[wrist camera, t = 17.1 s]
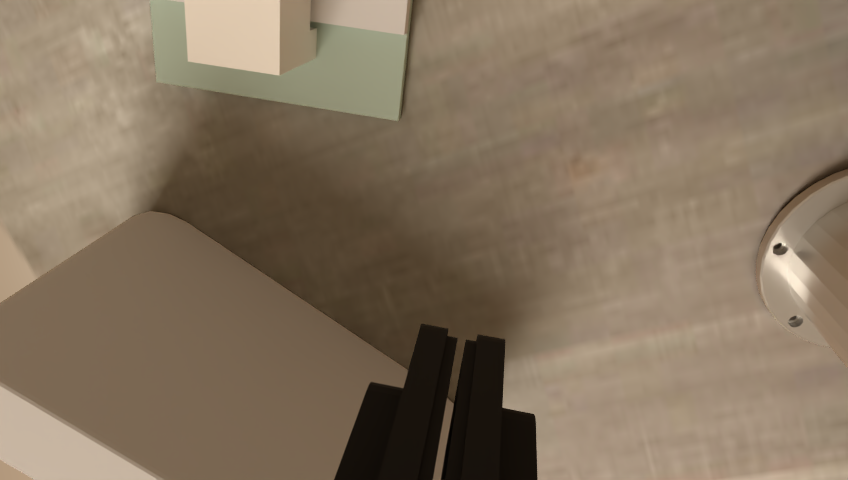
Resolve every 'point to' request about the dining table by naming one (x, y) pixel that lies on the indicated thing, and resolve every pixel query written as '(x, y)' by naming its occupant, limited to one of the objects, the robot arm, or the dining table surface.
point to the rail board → (315, 80)
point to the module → (250, 34)
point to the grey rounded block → (177, 367)
